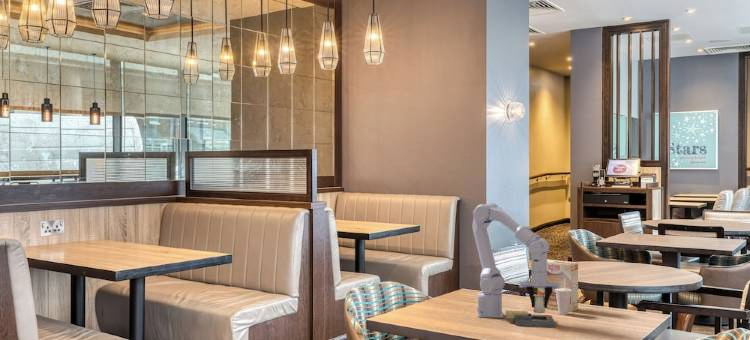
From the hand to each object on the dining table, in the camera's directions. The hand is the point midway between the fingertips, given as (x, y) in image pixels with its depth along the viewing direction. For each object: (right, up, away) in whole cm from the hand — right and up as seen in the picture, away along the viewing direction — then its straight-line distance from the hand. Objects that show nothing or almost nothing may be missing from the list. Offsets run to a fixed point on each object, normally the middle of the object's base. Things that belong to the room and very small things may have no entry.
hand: (539, 307), depth 244 cm
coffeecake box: (+14, -6, +25) cm, 29 cm away
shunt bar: (-8, -4, +1) cm, 9 cm away
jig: (-2, -6, 0) cm, 6 cm away
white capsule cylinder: (0, -2, 0) cm, 2 cm away
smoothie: (+13, -6, +15) cm, 21 cm away
